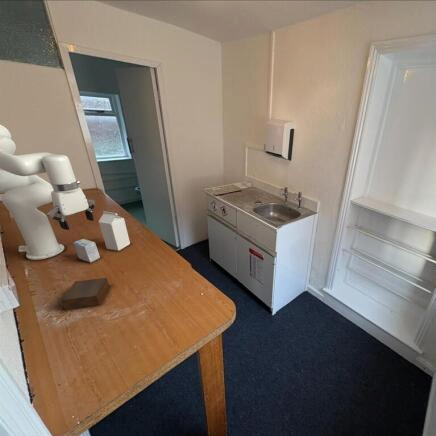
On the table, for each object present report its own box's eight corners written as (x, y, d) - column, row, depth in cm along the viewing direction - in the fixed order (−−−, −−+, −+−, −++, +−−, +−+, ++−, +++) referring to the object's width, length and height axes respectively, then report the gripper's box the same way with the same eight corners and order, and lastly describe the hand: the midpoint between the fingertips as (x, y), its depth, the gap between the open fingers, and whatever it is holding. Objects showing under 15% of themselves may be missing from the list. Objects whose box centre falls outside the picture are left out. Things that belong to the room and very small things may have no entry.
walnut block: (65, 310, 81) (60, 300, 79) (78, 290, 89) (75, 281, 88) (99, 305, 84) (96, 295, 82) (109, 286, 92) (106, 277, 91)
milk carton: (118, 251, 114) (108, 216, 106) (106, 248, 115) (95, 214, 107) (130, 244, 121) (122, 210, 113) (118, 241, 122) (109, 208, 114)
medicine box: (100, 258, 108) (95, 242, 105) (90, 263, 105) (84, 246, 101) (88, 253, 111) (83, 238, 107) (78, 258, 107) (72, 242, 103)
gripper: (81, 180, 102) (93, 215, 109) (31, 191, 87) (48, 231, 94) (94, 182, 100) (105, 218, 107) (45, 194, 85) (62, 235, 92)
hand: (78, 224), depth 100 cm, fingers open, 9 cm apart
